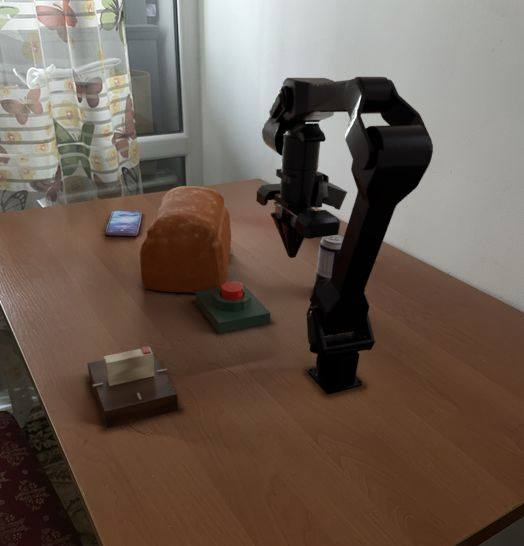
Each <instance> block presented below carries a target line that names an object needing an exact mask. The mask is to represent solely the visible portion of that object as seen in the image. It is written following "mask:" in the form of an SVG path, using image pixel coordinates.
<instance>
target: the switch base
mask: <svg viewBox="0 0 524 546" xmlns="http://www.w3.org/2000/svg"><path fill="white" fill-rule="evenodd" d="M151 351H152V353H153V364H154V376H152V377H148V378H143V379H139V380H135V381H130V382H126V383H121V384H117V385H112V386H109V384H108V381H107V378H106V371H105V364H104V359H100V360H95V361H91V362H87V363H86V364H87V369H88V374H89V375H88V377H89V381H90V384H91V386H92V389H93V392H94V395H95V398H96V401H97V404H98V406H99V409H100V412H101V415H102V418H103V420H104V423H105V426H106V428H107V429H111V428H114V427H118V426H121V425H125V424H130V423H134V422H137V421H142V420H147V419H149V418H153V417H157V416H161V415H165V414H169V413H172V412H176V411H179V407H178V394H177V392H176V389H175V387H174V385H173V384H172V382H171V380H170V378H169V377H168V374H167V373H166V371H168V369H167V368H164V367H163V365H162V363H161V362H160V360H159V358H158V356H157V354H156V352H155V351H154V349H151Z"/></svg>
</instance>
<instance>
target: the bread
mask: <svg viewBox="0 0 524 546" xmlns="http://www.w3.org/2000/svg"><path fill="white" fill-rule="evenodd" d="M230 216H231V215H230V211H229V210H228V209H227V207H226V206H225V198H224V197H223V195H221V193H220V192H219V191H217V190H214V189H210V188H208V187H205V186H197V185H182V186H177V187H174V188H171V189H170V190H169V191H167V193H166V194H164V196H163V197H162V198H161V205H160V206H159V207H158V210H157V212H156V213H155V214H154V216H153V219H152V223H151V224H150V225H149V227H148V229H147V231H146V236H145V239H144V241H143V242H142V244H141V247H140V250H139V267H140V275H141V284H142V285H143V286H144V287H145V288H146V289H149V290H153V291H156V292H167V293H169V292H170V293H183V294H184V293H187V294H195V292H200V291H206V290H212V289H217V288H218V287H220V286H222V284H224V283H226V282H227V279H228V271H229V266H230V265H229V264H230V257H231V255H230V253H231V245H232V244H231V243H232V230H231V217H230Z"/></svg>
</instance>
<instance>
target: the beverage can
mask: <svg viewBox="0 0 524 546" xmlns="http://www.w3.org/2000/svg"><path fill="white" fill-rule="evenodd" d="M344 235H345V234H343V233H339V234H338V235H333V236H326V237H321V240H320V242H319V247H318V256H317V264H316V274H315V280H314V281H315V282H314V284H315V283H316V282H317V281H318V280H327V279H331V277H332V274H333V271H334V268H335V264H336V261H337V258H338V255H339V251H340V248H341V245H342V242H343V238H344Z"/></svg>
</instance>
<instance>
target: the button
mask: <svg viewBox="0 0 524 546" xmlns="http://www.w3.org/2000/svg"><path fill="white" fill-rule="evenodd" d="M221 296H222V297H223V298H225V299H230V300H236V299H240V298H242V297H243V285H242V283H241V282H237V281H226V283H224V284H222V286H221Z"/></svg>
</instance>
